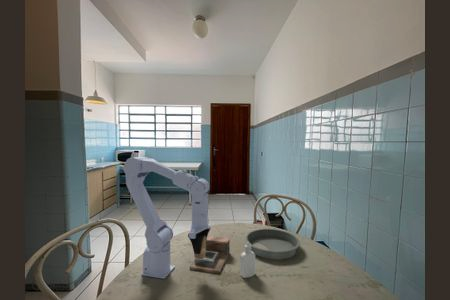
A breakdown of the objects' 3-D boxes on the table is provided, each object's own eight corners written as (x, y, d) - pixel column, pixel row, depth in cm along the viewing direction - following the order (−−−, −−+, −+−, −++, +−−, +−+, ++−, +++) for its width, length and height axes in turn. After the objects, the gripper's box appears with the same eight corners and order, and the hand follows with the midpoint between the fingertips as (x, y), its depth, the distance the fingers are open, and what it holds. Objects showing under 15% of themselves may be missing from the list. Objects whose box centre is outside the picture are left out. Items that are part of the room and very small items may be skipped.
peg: (192, 257, 75) (192, 238, 75) (196, 252, 79) (197, 233, 79) (203, 259, 74) (203, 239, 74) (206, 254, 78) (207, 235, 78)
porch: (189, 269, 81) (189, 252, 81) (203, 249, 96) (203, 235, 96) (219, 273, 78) (219, 256, 78) (229, 253, 94) (229, 238, 93)
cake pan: (254, 233, 115) (254, 225, 115) (302, 242, 105) (302, 233, 105) (237, 254, 93) (237, 243, 93) (296, 268, 82) (296, 256, 82)
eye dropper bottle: (239, 271, 80) (239, 239, 80) (254, 271, 80) (254, 239, 79) (240, 278, 75) (240, 244, 75) (256, 278, 75) (256, 244, 75)
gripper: (203, 220, 68) (203, 262, 69) (216, 208, 83) (215, 242, 83) (183, 218, 70) (183, 259, 70) (199, 206, 84) (198, 240, 84)
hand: (199, 250), depth 77 cm, fingers closed on peg, 4 cm apart
